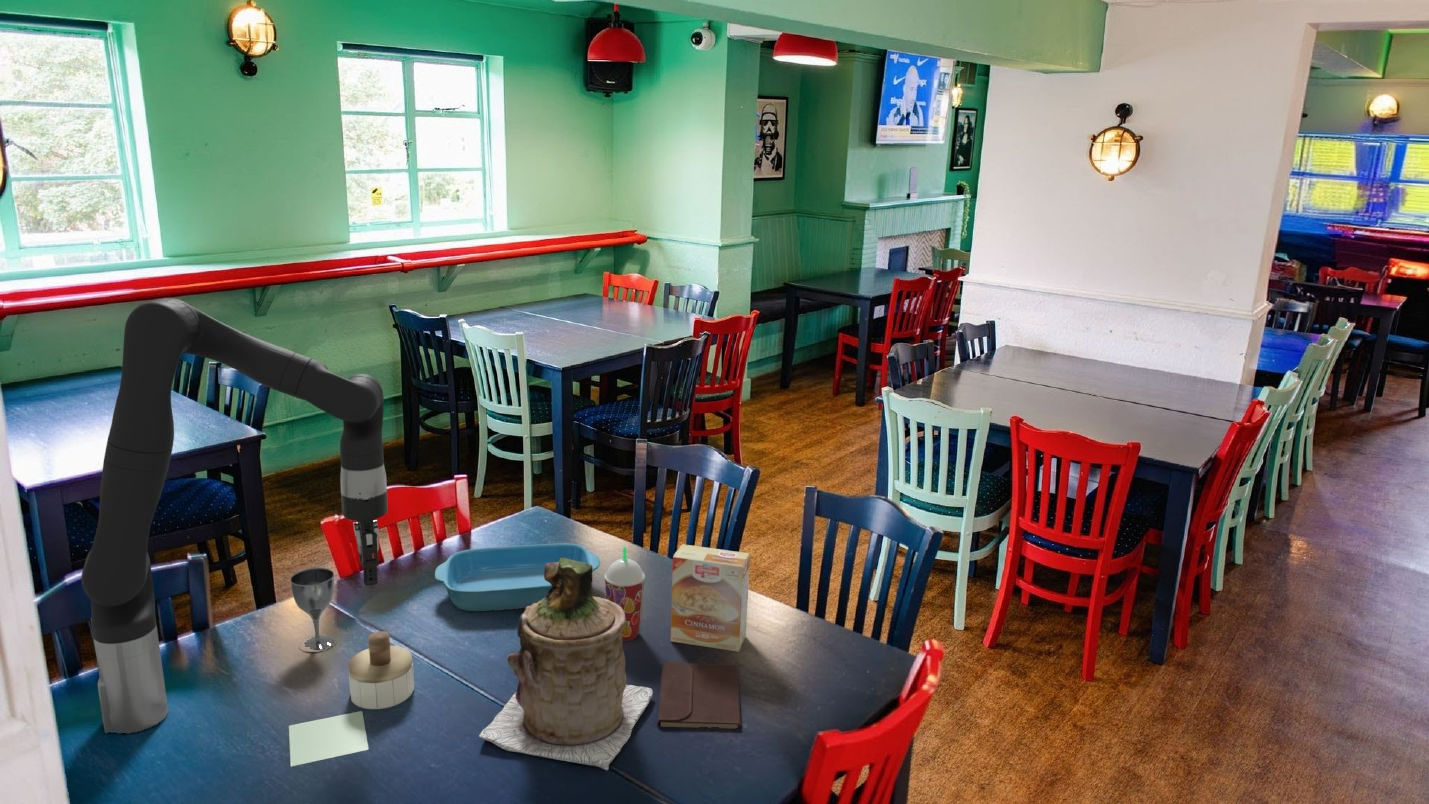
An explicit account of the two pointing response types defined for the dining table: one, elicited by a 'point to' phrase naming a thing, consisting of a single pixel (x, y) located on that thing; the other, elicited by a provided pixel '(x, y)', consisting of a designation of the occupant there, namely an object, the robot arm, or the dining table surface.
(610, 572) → the smoothie
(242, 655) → the dining table surface
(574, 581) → the cookie jar
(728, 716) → the notebook
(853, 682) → the dining table surface
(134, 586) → the robot arm
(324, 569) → the wine glass
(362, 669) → the lid
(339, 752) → the mat
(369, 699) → the bowl
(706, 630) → the coffeecake box
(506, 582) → the casserole dish
